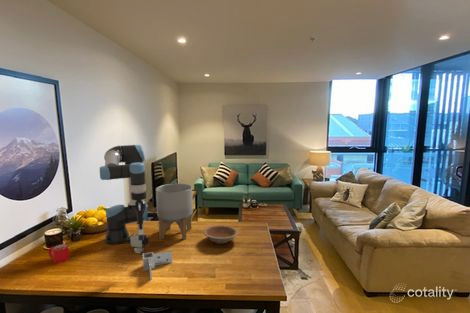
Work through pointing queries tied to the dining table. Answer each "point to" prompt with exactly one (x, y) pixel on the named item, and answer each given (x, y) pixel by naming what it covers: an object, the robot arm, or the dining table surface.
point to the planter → (174, 207)
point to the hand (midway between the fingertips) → (141, 233)
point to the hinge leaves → (156, 260)
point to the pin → (141, 237)
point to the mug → (59, 253)
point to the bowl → (220, 233)
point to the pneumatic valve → (138, 242)
